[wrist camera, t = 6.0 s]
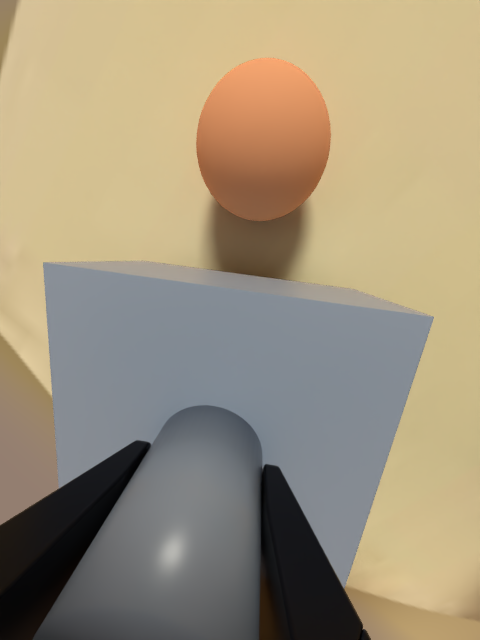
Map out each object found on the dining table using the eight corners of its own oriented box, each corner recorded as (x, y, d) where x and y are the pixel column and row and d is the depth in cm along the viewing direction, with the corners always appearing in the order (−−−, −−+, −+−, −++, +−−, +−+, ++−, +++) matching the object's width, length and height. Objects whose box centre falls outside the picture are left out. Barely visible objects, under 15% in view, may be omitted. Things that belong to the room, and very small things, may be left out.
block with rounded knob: (353, 289, 11) (821, 451, 2) (310, 466, 14) (411, 934, 4) (144, 260, 12) (-333, 268, 2) (139, 434, 15) (-109, 777, 5)
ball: (332, 195, 12) (377, 152, 7) (240, 245, 13) (225, 237, 8) (288, 88, 11) (305, -42, 6) (193, 150, 12) (145, 79, 7)
